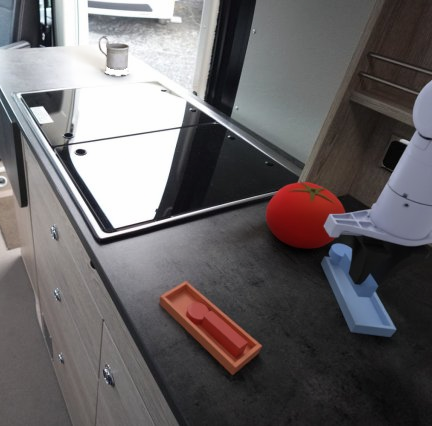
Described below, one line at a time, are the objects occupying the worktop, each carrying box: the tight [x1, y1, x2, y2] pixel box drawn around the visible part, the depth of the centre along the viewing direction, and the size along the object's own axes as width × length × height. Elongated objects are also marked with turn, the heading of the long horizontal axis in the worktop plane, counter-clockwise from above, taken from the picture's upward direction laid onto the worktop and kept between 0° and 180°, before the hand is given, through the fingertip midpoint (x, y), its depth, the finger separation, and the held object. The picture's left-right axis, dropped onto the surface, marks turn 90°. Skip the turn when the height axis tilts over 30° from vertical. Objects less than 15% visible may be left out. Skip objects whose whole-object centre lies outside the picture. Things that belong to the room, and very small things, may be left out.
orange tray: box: [158, 280, 263, 376], centre depth 51 cm, size 14×5×2 cm, turn 36°
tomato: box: [265, 180, 346, 250], centre depth 64 cm, size 11×12×10 cm
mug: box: [98, 35, 130, 70], centre depth 142 cm, size 14×10×12 cm
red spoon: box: [186, 302, 248, 358], centre depth 50 cm, size 9×3×2 cm, turn 36°
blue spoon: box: [328, 243, 379, 298], centre depth 50 cm, size 9×3×2 cm, turn 175°
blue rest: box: [320, 256, 397, 338], centre depth 56 cm, size 14×5×2 cm, turn 172°
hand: (363, 279), depth 48 cm, fingers closed on blue spoon, 1 cm apart
